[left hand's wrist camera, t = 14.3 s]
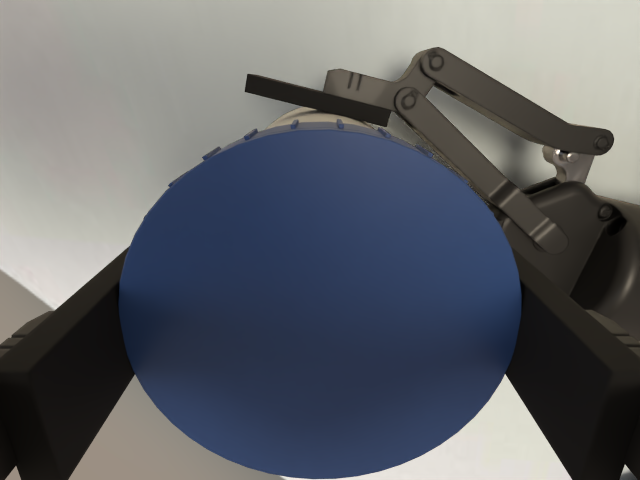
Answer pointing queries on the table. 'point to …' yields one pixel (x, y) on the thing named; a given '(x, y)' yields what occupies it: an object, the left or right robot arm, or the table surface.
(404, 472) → the table surface
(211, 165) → the lid
